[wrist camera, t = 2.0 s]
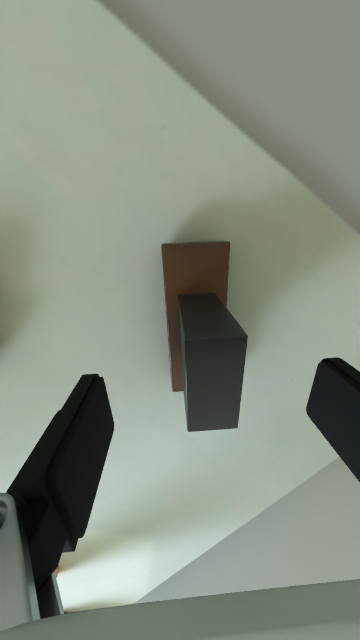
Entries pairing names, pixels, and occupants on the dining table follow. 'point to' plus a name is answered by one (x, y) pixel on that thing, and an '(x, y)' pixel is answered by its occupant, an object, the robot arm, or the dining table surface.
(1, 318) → the dining table surface
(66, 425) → the robot arm
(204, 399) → the brush
